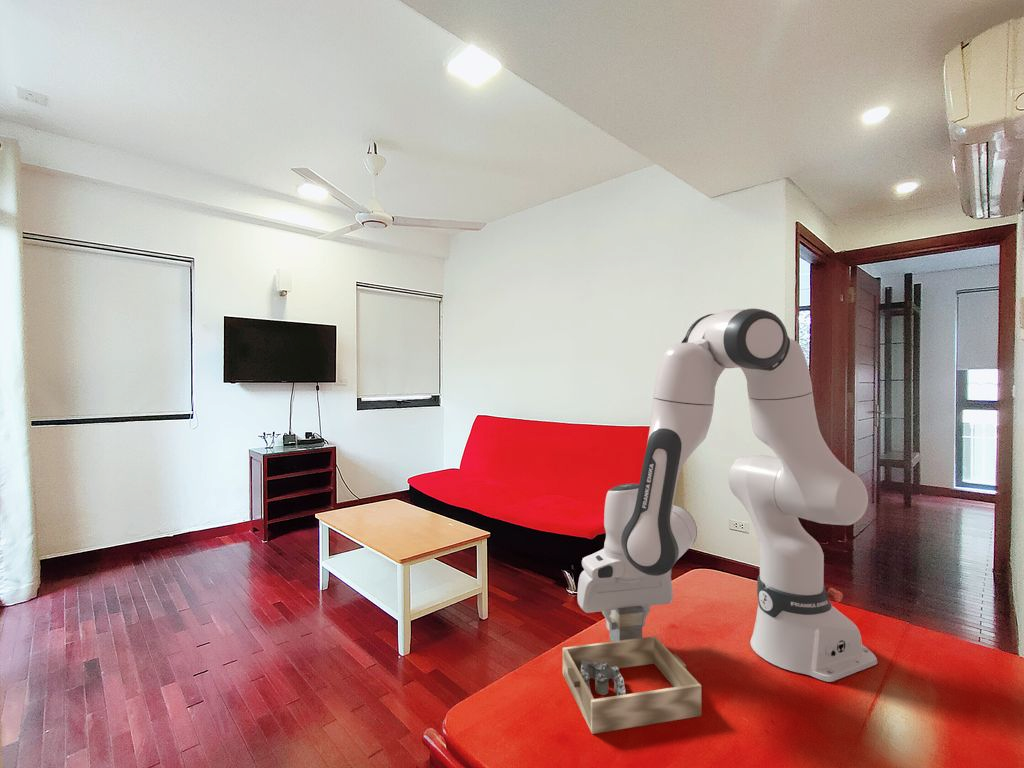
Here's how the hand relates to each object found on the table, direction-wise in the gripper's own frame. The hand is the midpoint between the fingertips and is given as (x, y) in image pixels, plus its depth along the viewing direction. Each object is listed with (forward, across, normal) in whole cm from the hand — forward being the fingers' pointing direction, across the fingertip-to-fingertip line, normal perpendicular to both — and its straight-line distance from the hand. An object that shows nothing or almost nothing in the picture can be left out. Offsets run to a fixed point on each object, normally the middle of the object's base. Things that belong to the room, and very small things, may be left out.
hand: (625, 627), depth 97 cm
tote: (+3, +6, +14) cm, 16 cm away
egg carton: (+4, +11, +14) cm, 19 cm away
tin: (+3, 0, 0) cm, 3 cm away
